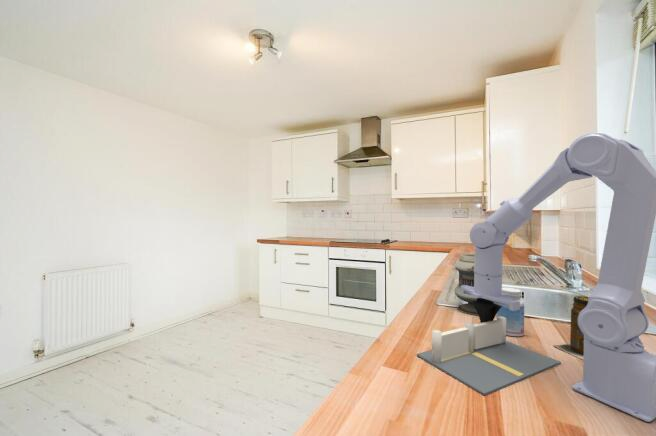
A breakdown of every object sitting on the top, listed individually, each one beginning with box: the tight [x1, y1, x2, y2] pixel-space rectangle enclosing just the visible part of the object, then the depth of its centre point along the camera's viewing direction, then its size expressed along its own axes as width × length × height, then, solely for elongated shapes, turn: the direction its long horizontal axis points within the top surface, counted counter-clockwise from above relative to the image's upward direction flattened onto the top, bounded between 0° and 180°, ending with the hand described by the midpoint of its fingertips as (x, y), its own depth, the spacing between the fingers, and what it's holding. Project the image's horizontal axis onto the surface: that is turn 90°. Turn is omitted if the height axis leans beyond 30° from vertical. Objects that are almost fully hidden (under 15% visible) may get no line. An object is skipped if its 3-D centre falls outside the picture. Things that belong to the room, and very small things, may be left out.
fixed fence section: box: [431, 321, 475, 363], centre depth 62 cm, size 12×2×6 cm, turn 117°
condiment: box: [552, 295, 589, 361], centre depth 65 cm, size 7×8×12 cm
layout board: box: [416, 340, 562, 396], centre depth 61 cm, size 16×24×1 cm, turn 117°
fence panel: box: [473, 316, 507, 349], centre depth 67 cm, size 10×2×6 cm, turn 114°
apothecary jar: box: [454, 253, 479, 316], centre depth 94 cm, size 12×12×18 cm
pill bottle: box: [496, 287, 525, 337], centre depth 76 cm, size 6×6×11 cm
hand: (486, 331), depth 68 cm, fingers closed
